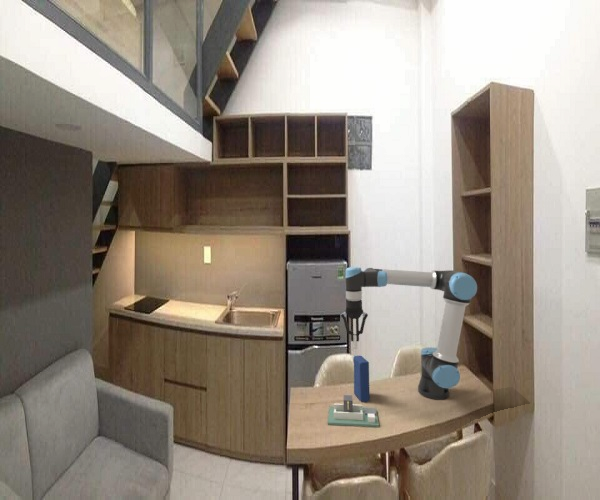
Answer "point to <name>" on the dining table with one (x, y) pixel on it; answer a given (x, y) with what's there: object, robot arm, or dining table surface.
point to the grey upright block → (348, 403)
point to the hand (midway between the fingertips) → (355, 347)
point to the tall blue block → (361, 378)
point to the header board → (353, 416)
